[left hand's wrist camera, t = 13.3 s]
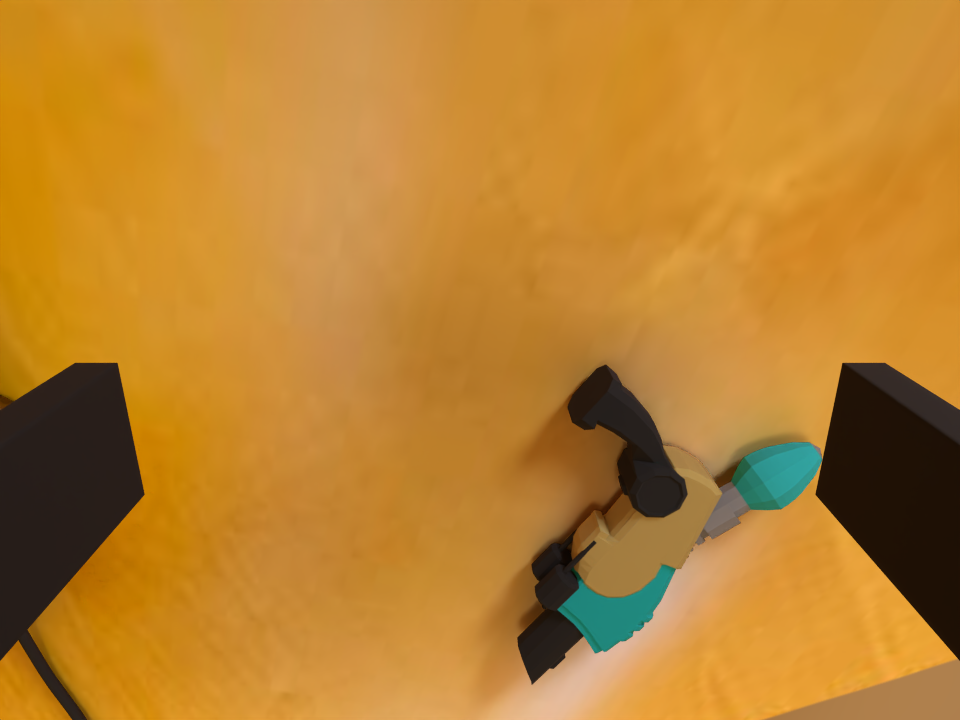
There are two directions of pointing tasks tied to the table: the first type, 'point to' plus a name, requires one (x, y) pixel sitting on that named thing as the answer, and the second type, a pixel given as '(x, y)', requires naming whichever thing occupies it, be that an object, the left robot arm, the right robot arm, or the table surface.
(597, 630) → the toy gun
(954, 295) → the table surface
